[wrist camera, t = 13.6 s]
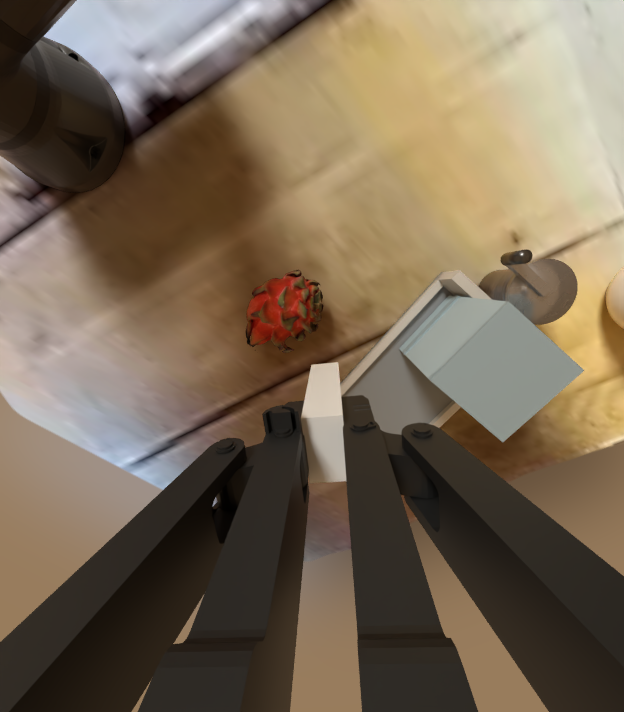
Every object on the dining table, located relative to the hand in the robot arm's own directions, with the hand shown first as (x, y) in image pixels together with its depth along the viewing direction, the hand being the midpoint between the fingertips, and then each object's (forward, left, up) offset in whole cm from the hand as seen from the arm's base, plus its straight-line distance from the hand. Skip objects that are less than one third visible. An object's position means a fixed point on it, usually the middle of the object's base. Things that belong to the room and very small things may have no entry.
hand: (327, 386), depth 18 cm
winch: (+21, +3, -25) cm, 33 cm away
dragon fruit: (-6, +3, -26) cm, 26 cm away
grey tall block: (+15, -4, -25) cm, 30 cm away
